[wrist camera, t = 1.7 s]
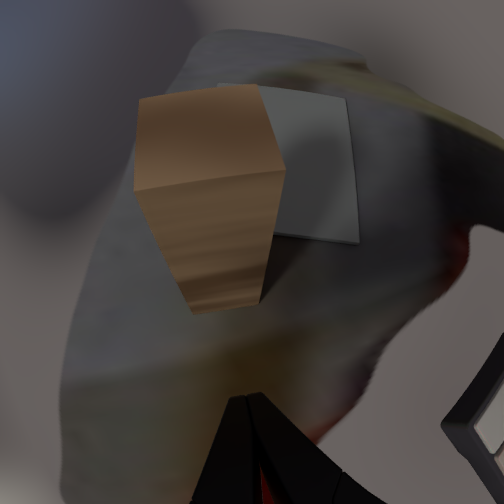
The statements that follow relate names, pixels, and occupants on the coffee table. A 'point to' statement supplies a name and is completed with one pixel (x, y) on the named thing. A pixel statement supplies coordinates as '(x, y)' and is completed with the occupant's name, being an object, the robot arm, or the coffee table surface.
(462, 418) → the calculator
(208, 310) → the block
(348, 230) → the mat
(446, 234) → the coffee table surface
